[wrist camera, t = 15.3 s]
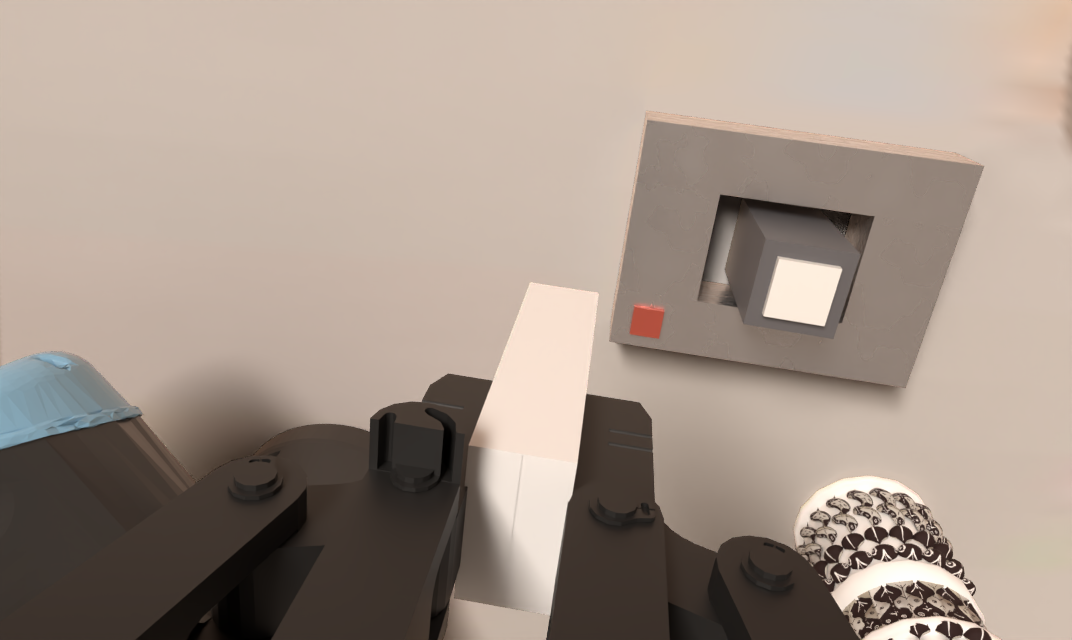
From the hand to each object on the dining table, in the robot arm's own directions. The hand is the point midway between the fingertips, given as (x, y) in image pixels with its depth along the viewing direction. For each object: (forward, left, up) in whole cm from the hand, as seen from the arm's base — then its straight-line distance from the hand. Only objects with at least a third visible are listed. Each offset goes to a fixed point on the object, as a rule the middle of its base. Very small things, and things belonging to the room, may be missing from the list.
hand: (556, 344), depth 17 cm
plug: (-4, -10, -26) cm, 29 cm away
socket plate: (-4, -10, -26) cm, 29 cm away
